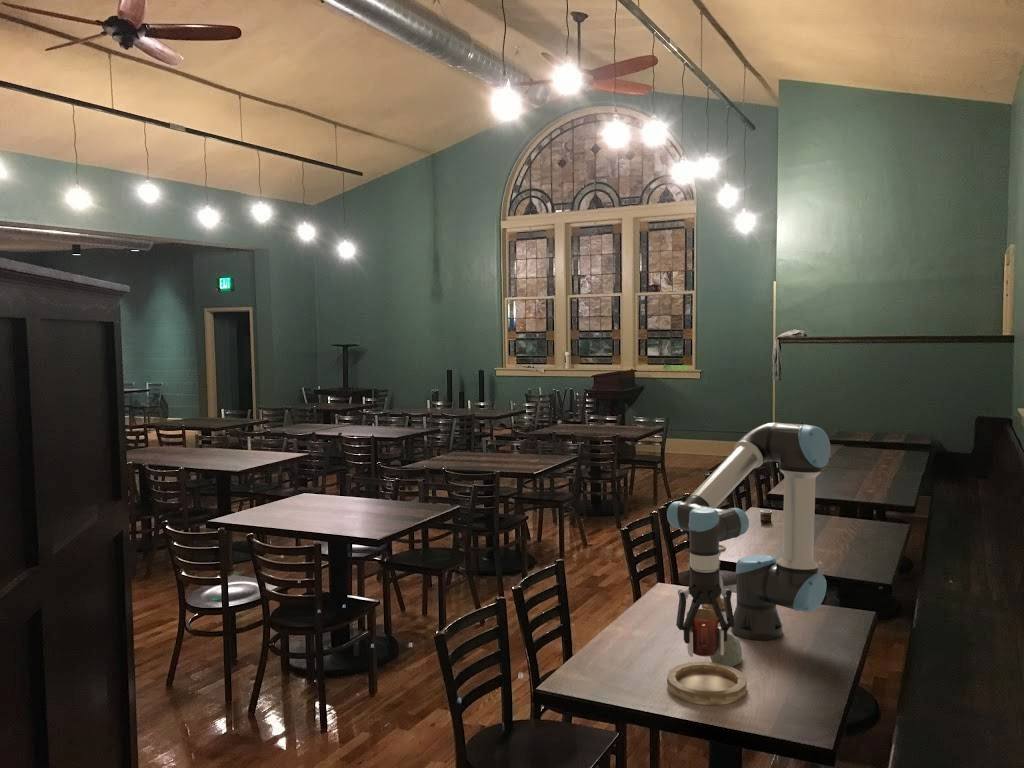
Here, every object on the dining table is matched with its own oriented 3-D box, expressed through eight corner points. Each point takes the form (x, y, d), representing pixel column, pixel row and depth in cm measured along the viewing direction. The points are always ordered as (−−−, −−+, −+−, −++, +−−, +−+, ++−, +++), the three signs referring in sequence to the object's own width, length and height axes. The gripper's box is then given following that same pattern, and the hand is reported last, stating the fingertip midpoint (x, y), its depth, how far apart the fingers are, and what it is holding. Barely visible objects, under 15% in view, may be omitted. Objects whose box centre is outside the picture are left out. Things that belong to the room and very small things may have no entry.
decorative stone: (731, 675, 227) (748, 641, 229) (695, 654, 232) (711, 621, 234) (735, 680, 238) (751, 648, 240) (700, 660, 243) (716, 629, 245)
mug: (686, 645, 226) (686, 607, 225) (720, 646, 224) (719, 609, 223) (686, 663, 214) (686, 624, 213) (722, 665, 212) (721, 625, 212)
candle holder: (702, 611, 276) (701, 550, 275) (701, 601, 285) (699, 543, 283) (730, 611, 275) (728, 550, 273) (727, 602, 283) (726, 543, 282)
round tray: (732, 669, 230) (731, 659, 230) (757, 702, 211) (757, 692, 210) (660, 673, 229) (659, 664, 229) (678, 707, 210) (678, 696, 209)
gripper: (738, 562, 222) (739, 646, 223) (662, 565, 221) (664, 650, 222) (747, 570, 214) (748, 657, 216) (669, 574, 213) (670, 661, 215)
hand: (705, 653), depth 219 cm, fingers closed on mug, 7 cm apart
